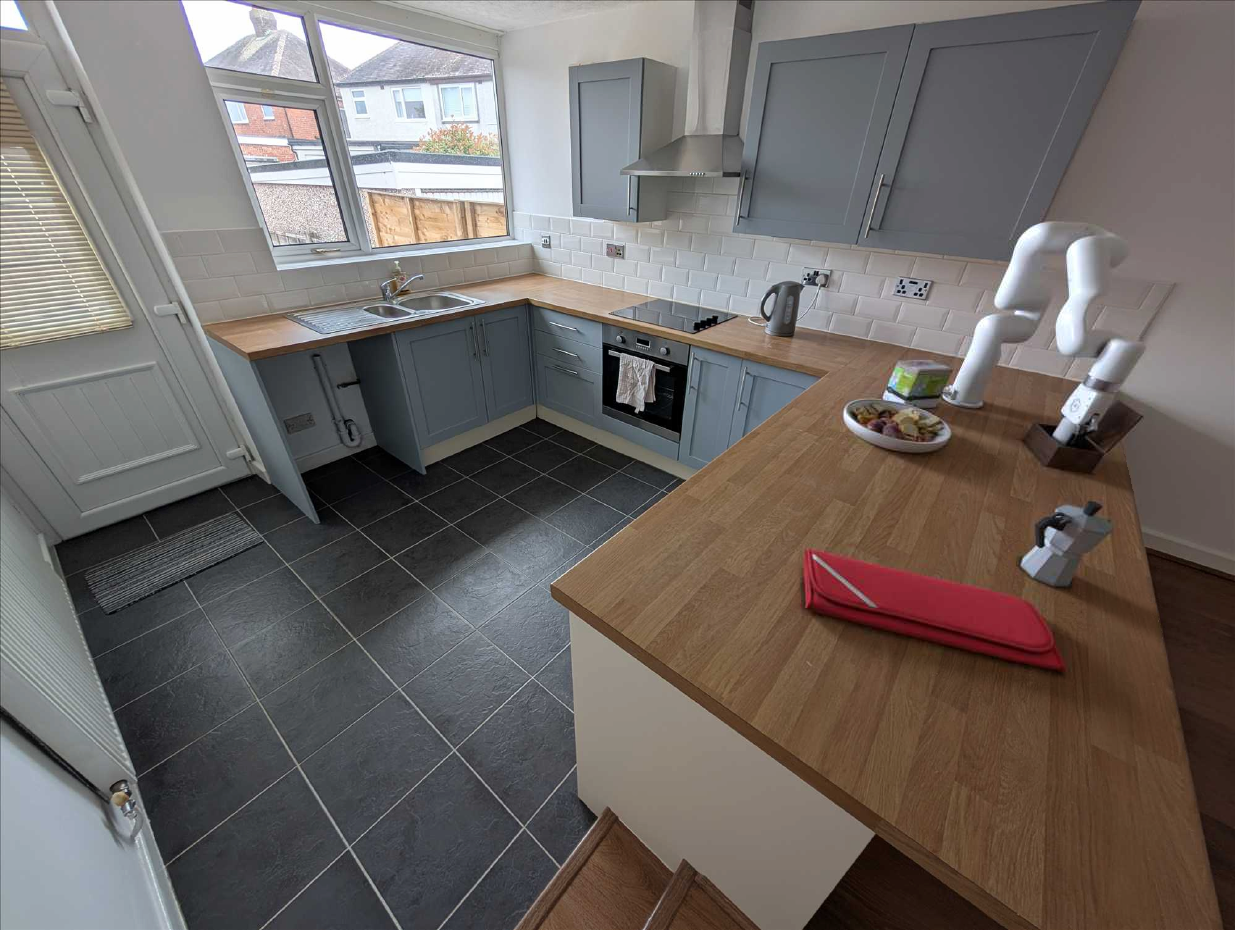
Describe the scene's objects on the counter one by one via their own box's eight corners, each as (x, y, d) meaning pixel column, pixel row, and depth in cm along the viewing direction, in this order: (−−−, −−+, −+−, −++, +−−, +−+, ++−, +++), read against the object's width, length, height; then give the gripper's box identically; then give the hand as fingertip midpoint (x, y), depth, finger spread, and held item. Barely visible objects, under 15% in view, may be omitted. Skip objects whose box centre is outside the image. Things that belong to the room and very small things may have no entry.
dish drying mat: (1063, 677, 78) (1075, 663, 76) (805, 613, 87) (810, 599, 85) (1022, 605, 91) (1033, 592, 89) (801, 556, 100) (806, 543, 98)
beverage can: (1043, 446, 146) (1065, 411, 139) (1069, 454, 143) (1093, 418, 136) (1042, 454, 142) (1065, 418, 135) (1069, 462, 138) (1094, 426, 132)
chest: (1046, 466, 137) (1058, 446, 134) (1022, 440, 150) (1033, 421, 147) (1091, 473, 135) (1105, 454, 131) (1063, 446, 148) (1075, 428, 144)
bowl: (847, 404, 167) (855, 383, 163) (944, 428, 155) (955, 406, 150) (832, 438, 145) (840, 415, 141) (944, 469, 133) (956, 445, 128)
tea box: (902, 411, 164) (918, 370, 156) (881, 398, 172) (896, 360, 165) (936, 407, 168) (954, 368, 160) (914, 396, 176) (930, 358, 168)
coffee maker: (1056, 557, 103) (1106, 490, 94) (1091, 588, 96) (1149, 519, 86) (991, 556, 103) (1034, 489, 93) (1021, 587, 95) (1072, 517, 86)
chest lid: (1141, 415, 124) (1144, 416, 124) (1106, 391, 137) (1109, 392, 137) (1104, 452, 131) (1107, 453, 131) (1075, 426, 144) (1077, 427, 144)
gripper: (1070, 371, 138) (1037, 425, 147) (1103, 394, 124) (1064, 452, 133) (1100, 375, 136) (1065, 429, 146) (1137, 398, 122) (1095, 457, 132)
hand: (1065, 440), depth 140 cm, fingers closed on beverage can, 6 cm apart
